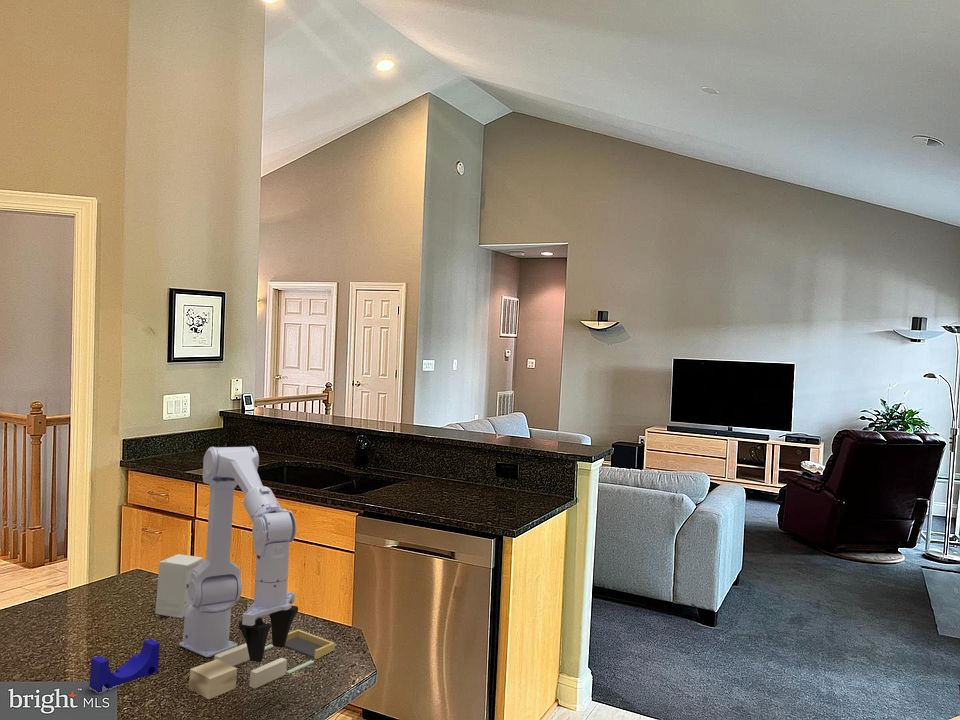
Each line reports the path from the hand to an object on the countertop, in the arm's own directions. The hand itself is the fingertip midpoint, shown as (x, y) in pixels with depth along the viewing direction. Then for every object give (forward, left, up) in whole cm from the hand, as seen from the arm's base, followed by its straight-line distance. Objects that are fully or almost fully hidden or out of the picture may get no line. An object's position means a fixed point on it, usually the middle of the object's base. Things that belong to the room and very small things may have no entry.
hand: (267, 653), depth 132 cm
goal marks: (-12, +16, -10) cm, 22 cm away
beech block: (-12, -1, -10) cm, 16 cm away
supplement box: (-49, +18, -10) cm, 53 cm away
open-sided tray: (-12, +23, -10) cm, 28 cm away
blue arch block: (-28, -10, -10) cm, 31 cm away
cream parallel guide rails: (-12, +8, -10) cm, 17 cm away
